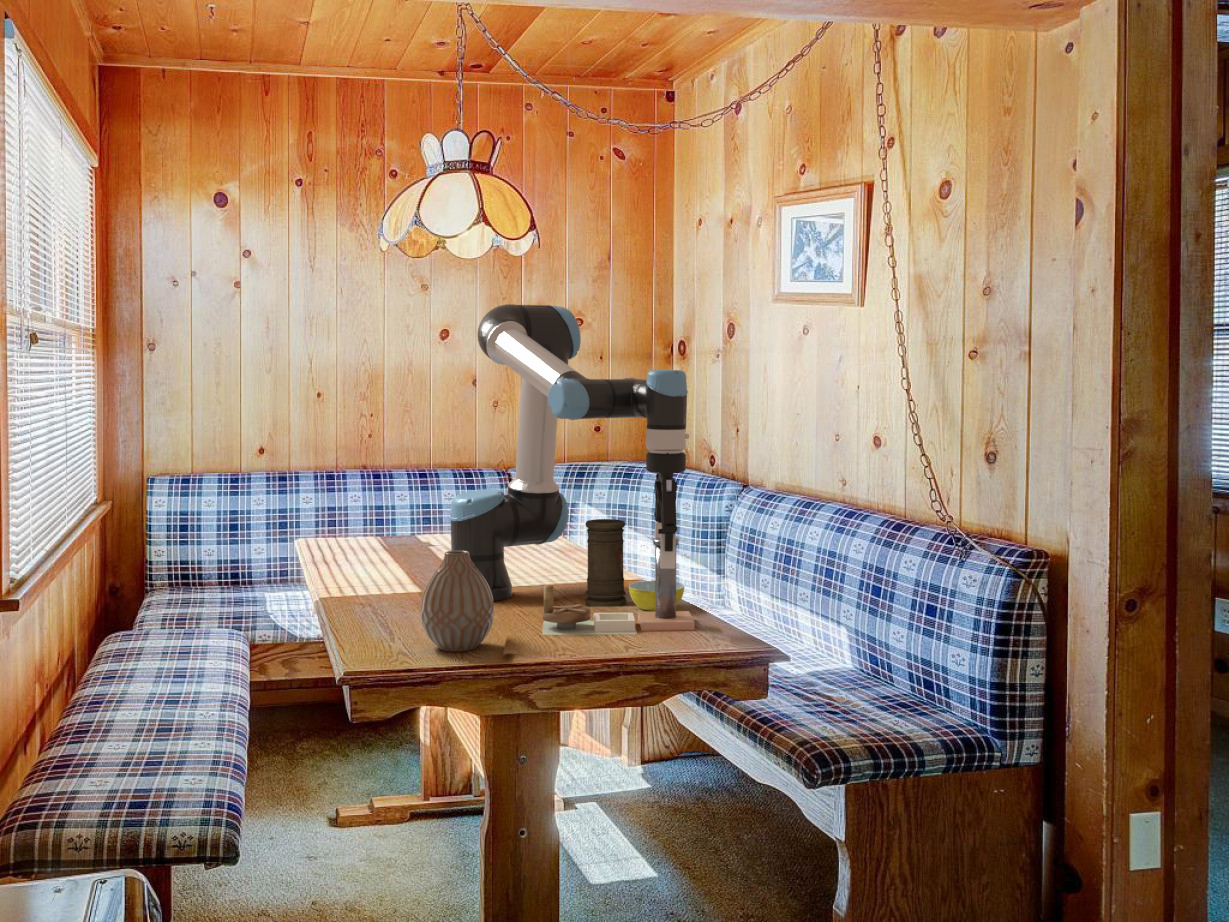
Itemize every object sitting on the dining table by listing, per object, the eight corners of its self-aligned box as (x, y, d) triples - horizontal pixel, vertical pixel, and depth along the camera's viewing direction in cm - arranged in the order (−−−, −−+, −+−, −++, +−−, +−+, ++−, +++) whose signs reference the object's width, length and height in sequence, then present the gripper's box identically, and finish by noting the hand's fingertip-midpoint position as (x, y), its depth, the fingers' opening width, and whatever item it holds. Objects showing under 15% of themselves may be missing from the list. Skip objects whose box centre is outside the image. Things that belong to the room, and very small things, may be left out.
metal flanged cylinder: (654, 619, 226) (654, 540, 225) (652, 614, 231) (652, 537, 230) (679, 619, 226) (679, 540, 225) (676, 613, 231) (677, 537, 230)
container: (596, 609, 250) (596, 524, 249) (577, 602, 258) (577, 519, 257) (634, 605, 254) (634, 522, 253) (614, 598, 262) (614, 517, 261)
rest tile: (641, 638, 224) (641, 622, 223) (638, 626, 234) (638, 611, 233) (694, 637, 224) (694, 621, 224) (688, 626, 234) (688, 611, 234)
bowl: (643, 622, 237) (643, 592, 237) (619, 612, 248) (619, 582, 247) (694, 618, 242) (694, 588, 241) (669, 607, 252) (669, 579, 252)
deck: (542, 642, 220) (542, 624, 220) (543, 628, 232) (543, 611, 232) (637, 641, 221) (637, 623, 220) (633, 627, 233) (633, 610, 232)
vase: (407, 652, 212) (406, 555, 211) (443, 637, 225) (442, 545, 223) (473, 659, 208) (472, 559, 206) (506, 642, 220) (505, 548, 219)
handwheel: (572, 625, 220) (572, 590, 219) (533, 619, 224) (533, 585, 224) (599, 616, 227) (599, 583, 227) (560, 611, 232) (560, 578, 232)
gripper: (693, 457, 214) (691, 573, 216) (679, 446, 239) (677, 551, 241) (651, 456, 214) (649, 573, 216) (642, 445, 238) (640, 550, 240)
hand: (664, 562), depth 228 cm, fingers open, 13 cm apart
